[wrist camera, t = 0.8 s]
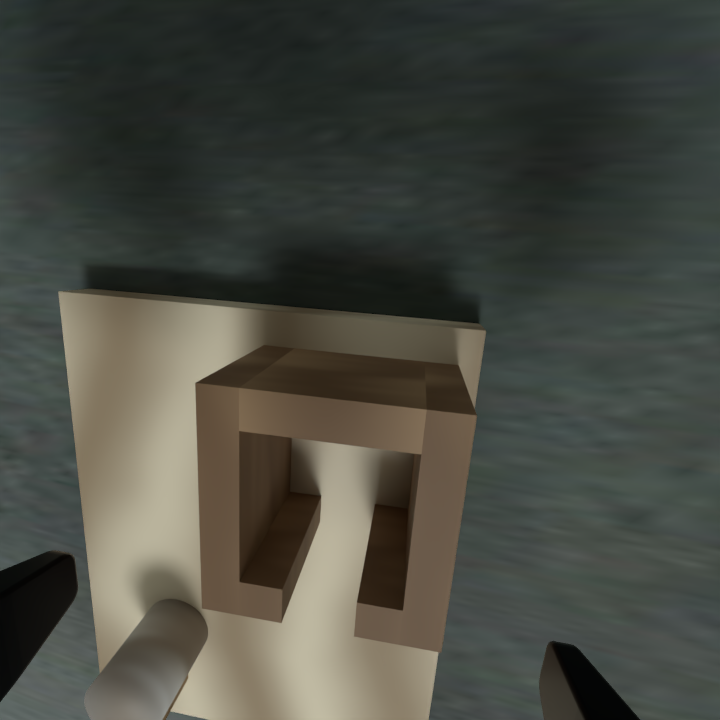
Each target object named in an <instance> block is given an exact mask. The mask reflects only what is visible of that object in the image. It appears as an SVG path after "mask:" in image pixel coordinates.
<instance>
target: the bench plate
mask: <svg viewBox="0 0 720 720" xmlns="http://www.w3.org/2000/svg"><path fill="white" fill-rule="evenodd" d="M58 292H59V301H60V310H61V320H62V329H63V338H64V347H65V356H66V365H67V375H68V384H69V393H70V402H71V411H72V420H73V430H74V439H75V448H76V457H77V466H78V476H79V485H80V494H81V503H82V512H83V521H84V531H85V540H86V549H87V558H88V567H89V576H90V586H91V595H92V604H93V613H94V622H95V632H96V641H97V650H98V659H99V668H100V674H99V675H98V677H97V678H96V679H95V681H94V682H93V683H92V685H91V686H90V687H89V688H88V690H87V692H86V694H85V708H86V711H87V713H88V715H89V717H90V718H91V720H166V718H167V716H168V714H169V712H170V711H172V712H176V713H181V714H186V715H190V716H195V717H199V718H204V719H208V720H428V719H429V712H430V706H431V699H432V692H433V685H434V679H435V672H436V665H437V658H438V652H434V651H429V650H423V649H418V648H413V647H407V646H402V645H396V644H391V643H386V642H380V641H375V640H369V639H364V638H359V637H354V630H355V618H356V606H357V599H358V593H359V588H360V582H361V577H362V572H363V566H364V561H365V555H366V550H367V545H368V539H369V534H370V528H371V523H372V518H373V512H374V507H375V504H379V505H386V506H393V507H400V508H407V509H408V504H409V495H410V486H411V478H412V469H413V460H414V454H413V453H405V452H398V451H390V450H382V449H375V448H367V447H359V446H351V445H344V444H336V443H328V442H320V441H313V440H305V439H297V438H292V449H291V480H290V492H297V493H304V494H311V495H317V496H321V514H320V523H319V526H318V529H317V531H316V534H315V537H314V539H313V542H312V544H311V547H310V550H309V552H308V555H307V558H306V560H305V563H304V565H303V568H302V571H301V573H300V576H299V579H298V581H297V584H296V586H295V589H294V592H293V594H292V597H291V599H290V602H289V605H288V607H287V610H286V613H285V615H284V618H283V620H282V623H278V622H272V621H267V620H261V619H256V618H251V617H245V616H240V615H234V614H229V613H223V612H218V611H213V610H207V609H202V597H201V563H200V529H199V495H198V461H197V427H196V393H195V383H196V382H198V381H200V380H201V379H203V378H205V377H207V376H209V375H210V374H212V373H214V372H216V371H218V370H219V369H221V368H223V367H225V366H227V365H229V364H230V363H232V362H234V361H236V360H238V359H239V358H241V357H243V356H245V355H247V354H249V353H250V352H252V351H254V350H256V349H258V348H259V347H261V346H263V345H267V346H277V347H287V348H297V349H307V350H316V351H326V352H336V353H346V354H355V355H365V356H375V357H385V358H395V359H404V360H414V361H424V362H434V363H443V364H453V365H459V367H460V370H461V373H462V376H463V378H464V381H465V384H466V387H467V389H468V392H469V395H470V398H471V401H472V403H473V406H474V409H475V402H476V396H477V389H478V382H479V375H480V369H481V362H482V355H483V348H484V342H485V335H486V330H485V329H484V328H483V327H482V326H481V325H480V324H478V323H467V322H456V321H445V320H434V319H423V318H412V317H401V316H389V315H378V314H367V313H356V312H345V311H334V310H323V309H312V308H301V307H289V306H278V305H267V304H256V303H245V302H234V301H223V300H212V299H201V298H190V297H178V296H167V295H156V294H145V293H134V292H123V291H112V290H101V289H80V290H69V291H58Z"/></svg>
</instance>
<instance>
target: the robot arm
mask: <svg viewBox="0 0 720 720" xmlns="http://www.w3.org/2000/svg"><path fill="white" fill-rule="evenodd" d="M77 592H78V580H77V572H76V563H75V558H74V556H73V555H72V554H70V553H66V552H61V551H48V552H46V553H43V554H41V555H38V556H36V557H33V558H31V559H29V560H26V561H24V562H21V563H19V564H16V565H14V566H12V567H9V568H7V569H4V570H2V571H0V702H1V700H2V699H3V698H4V697H5V695H6V694H7V693H8V692H9V690H10V689H11V688H12V687H13V685H14V684H15V683H16V681H17V680H18V678H19V677H20V676H21V674H22V673H23V672H24V670H25V669H26V668H27V666H28V665H29V663H30V662H31V661H32V659H33V658H34V656H35V655H36V653H37V652H38V651H39V649H40V648H41V646H42V645H43V644H44V642H45V641H46V639H47V638H48V637H49V635H50V634H51V632H52V631H53V629H54V628H55V627H56V625H57V624H58V622H59V621H60V620H61V618H62V617H63V615H64V614H65V613H66V611H67V610H68V608H69V607H70V605H71V604H72V603H73V601H74V599H75V597H76V595H77ZM539 689H540V697H541V704H542V710H543V716H544V720H640V719H639V718H638V717H637V715H636V714H635V713H634V712H633V711H632V710H631V709H630V707H629V706H628V705H627V704H626V703H625V702H624V701H623V699H622V698H621V697H620V696H619V695H618V694H617V692H616V691H615V690H614V689H613V688H612V687H611V686H610V684H609V683H608V682H607V681H606V680H605V679H604V678H603V676H602V675H601V674H600V673H599V672H598V671H597V669H596V668H595V667H594V666H593V665H592V664H591V663H590V661H589V660H588V659H587V658H586V657H585V656H584V655H583V653H582V652H581V651H580V650H579V649H578V648H577V647H575V646H574V645H572V644H566V643H561V642H555V641H551V642H549V644H548V645H547V648H546V652H545V657H544V661H543V665H542V670H541V674H540V680H539Z"/></svg>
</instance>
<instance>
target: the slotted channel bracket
mask: <svg viewBox="0 0 720 720" xmlns="http://www.w3.org/2000/svg"><path fill="white" fill-rule="evenodd" d="M195 393H196V427H197V461H198V495H199V529H200V563H201V597H202V609H207V610H213V611H218V612H223V613H229V614H234V615H240V616H245V617H251V618H256V619H261V620H267V621H272V622H278V623H282V620H283V618H284V615H285V613H286V610H287V607H288V605H289V602H290V599H291V597H292V594H293V592H294V589H295V586H296V584H297V581H298V579H299V576H300V573H301V571H302V568H303V565H304V563H305V560H306V558H307V555H308V552H309V550H310V547H311V544H312V542H313V539H314V537H315V534H316V531H317V529H318V526H319V523H320V514H321V496H317V495H311V494H304V493H297V492H290V480H291V449H292V438H297V439H305V440H313V441H320V442H328V443H336V444H344V445H351V446H359V447H367V448H375V449H382V450H390V451H398V452H405V453H413V454H414V460H413V469H412V478H411V486H410V495H409V504H408V509H407V508H400V507H393V506H386V505H379V504H375V507H374V512H373V518H372V523H371V528H370V534H369V539H368V545H367V550H366V555H365V561H364V566H363V572H362V577H361V582H360V588H359V593H358V599H357V606H356V618H355V630H354V637H359V638H364V639H369V640H375V641H380V642H386V643H391V644H396V645H402V646H407V647H413V648H418V649H423V650H429V651H434V652H440V653H441V651H442V644H443V638H444V631H445V624H446V618H447V611H448V605H449V598H450V591H451V585H452V578H453V571H454V565H455V558H456V551H457V545H458V538H459V531H460V525H461V518H462V512H463V505H464V498H465V492H466V485H467V478H468V472H469V465H470V458H471V452H472V445H473V438H474V432H475V425H476V419H477V414H476V412H475V409H474V406H473V403H472V401H471V398H470V395H469V392H468V389H467V387H466V384H465V381H464V378H463V376H462V373H461V370H460V367H459V365H453V364H443V363H434V362H424V361H414V360H404V359H395V358H385V357H375V356H365V355H355V354H346V353H336V352H326V351H316V350H307V349H297V348H287V347H277V346H267V345H263V346H261V347H259V348H258V349H256V350H254V351H252V352H250V353H249V354H247V355H245V356H243V357H241V358H239V359H238V360H236V361H234V362H232V363H230V364H229V365H227V366H225V367H223V368H221V369H219V370H218V371H216V372H214V373H212V374H210V375H209V376H207V377H205V378H203V379H201V380H200V381H198V382H196V383H195Z"/></svg>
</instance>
